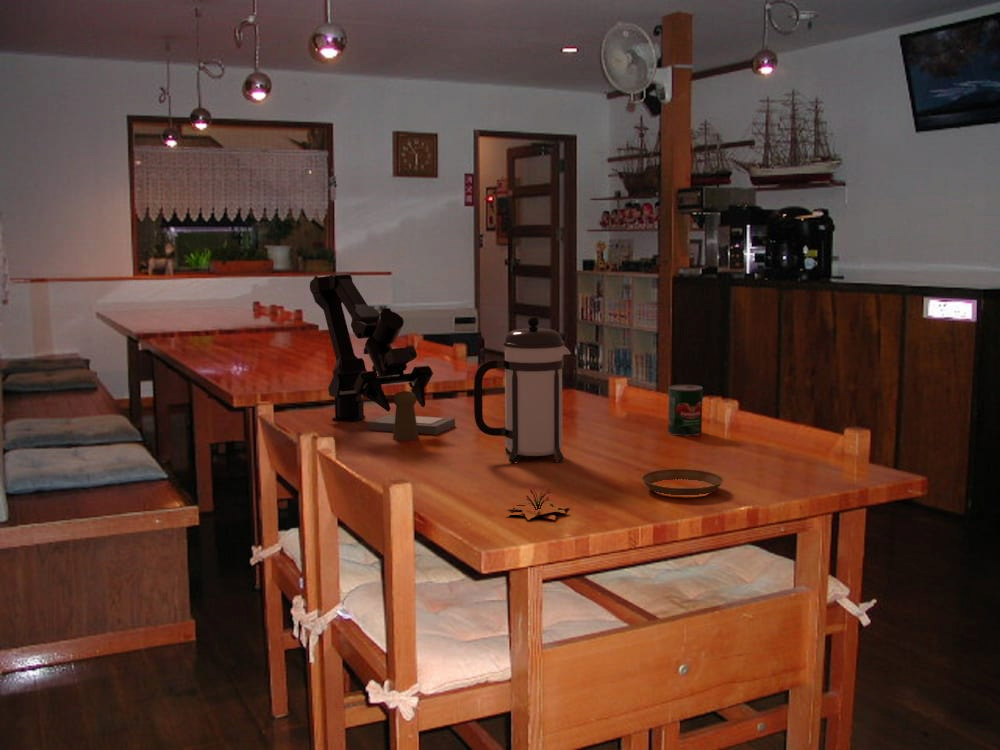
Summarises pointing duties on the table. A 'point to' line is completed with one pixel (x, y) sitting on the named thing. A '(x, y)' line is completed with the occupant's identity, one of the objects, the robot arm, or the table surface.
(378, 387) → the robot arm
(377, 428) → the dock step
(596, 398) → the table surface
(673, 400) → the canned tomato
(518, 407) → the coffee press
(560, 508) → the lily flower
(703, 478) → the plant saucer
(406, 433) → the cork
